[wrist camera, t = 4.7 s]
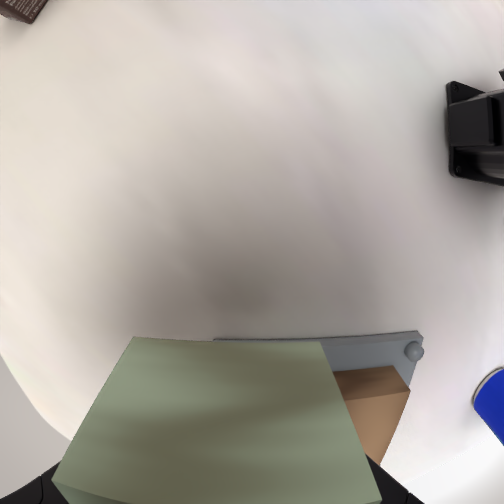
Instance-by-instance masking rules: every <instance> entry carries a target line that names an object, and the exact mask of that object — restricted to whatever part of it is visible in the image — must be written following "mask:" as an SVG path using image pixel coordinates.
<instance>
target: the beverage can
mask: <svg viewBox="0 0 504 504" xmlns="http://www.w3.org/2000/svg"><path fill="white" fill-rule="evenodd" d="M474 409H475V411H476V412H477V413H478V414H479V415H480V417H481V418H482V419H483V420H484V422H485V423H486V424H487V425H488V427H489V428H490V429H491V430H492V432H493V433H494V434H495V435H496V437H497V438H498V439H499V440H500V442H501V443H502V444H503V446H504V369H499V370H496V371H494V372H493V373H491V374H490V375H489V376H487V377H486V378H485V379H484V381H483V382H482V383H481V384H480V386H479V387H478V389H477V391H476V393H475V396H474Z"/></svg>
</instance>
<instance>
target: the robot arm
mask: <svg viewBox="0 0 504 504" xmlns="http://www.w3.org/2000/svg"><path fill="white" fill-rule="evenodd" d="M499 73H500V75H501V77H502V80H503V81H504V69H502V70H500V71H499ZM453 86H454V88H455V90H454V89H453ZM447 93H448V109H449V133H450V173H451V174H452V176H454V177H458V178H464V179H470V180H475V181H480V182H485V183H490V184H495V185H500V186H504V89H501V90H496V91H492V92H487V93H485V92H483V91H480V90H478V89H475V88H472V87H470V86H467V85H464V84H462V83H459V82H456V81H452V82H449V83H448V84H447ZM456 167H457V168H458V172H456ZM364 453H365V452H364ZM365 455H366V458H367V460H368V463H369V466H370V468H371V471H372V473H373V476H374V479H375V481H376V484H377V487H378V489H379V492H380V495H381V498H382V501H381V502H380V504H424V503H423V502H422V501H420V500H419V499H418V498H417V497H415V496H414V495H413V494H411V493H409V492H408V490H407V489H406V488H404V487H403V486H402V485H401V484H400V483H399V482H397V481H396V480H395V479H394V478H393V477H392V476H390V475H389V474H388V473H387V472H386V471H385V470H384V469H382V468H381V467H380V466H379V465H378V464H377V463H376V462H375V461H373V460H372V459H371V458H370V457H369V456H368V455H367V454H366V453H365ZM60 462H61V461H60ZM60 462H58V463H57V464H56V465H54V466H53V467H52V468H50V469H49V470H47V471H46V472H44V473H43V474H42V475H41V476H38V477H37V478H36V479H34V480H33V481H31V482H30V483H28V484H27V485H25V486H23V487H22V488H20V489H18V490H17V491H15V492H13V493H11V494H9V495H7V496H5V497H3V498H1V499H0V504H69V503H68V501H67V500H66V499H65V498H64V496H63V495H62V494H61V492H60V491H59V490H58V488H57V487H56V486H55V484H54V483H53V482H52V478H53V476H54V474H55V472H56V470H57V468H58V466H59V464H60Z"/></svg>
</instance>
